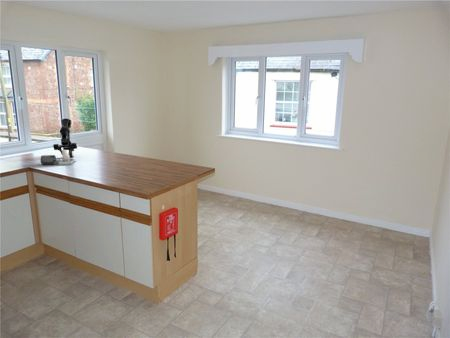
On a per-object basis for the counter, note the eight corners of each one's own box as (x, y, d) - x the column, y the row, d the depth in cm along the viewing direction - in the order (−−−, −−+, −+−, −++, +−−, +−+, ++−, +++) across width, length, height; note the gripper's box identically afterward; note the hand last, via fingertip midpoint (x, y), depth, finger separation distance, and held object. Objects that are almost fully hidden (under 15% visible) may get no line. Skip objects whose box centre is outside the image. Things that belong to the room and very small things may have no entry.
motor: (45, 162, 300) (44, 154, 298) (76, 161, 303) (74, 153, 301) (40, 166, 288) (39, 157, 286) (71, 165, 292) (70, 156, 290)
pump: (65, 160, 300) (64, 149, 297) (72, 160, 299) (70, 149, 296) (61, 161, 294) (59, 150, 291) (67, 162, 293) (66, 151, 290)
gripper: (52, 135, 291) (52, 150, 283) (75, 134, 297) (75, 148, 290) (54, 142, 300) (54, 157, 293) (76, 141, 306) (77, 155, 299)
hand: (65, 154), depth 293 cm, fingers closed on pump, 5 cm apart
